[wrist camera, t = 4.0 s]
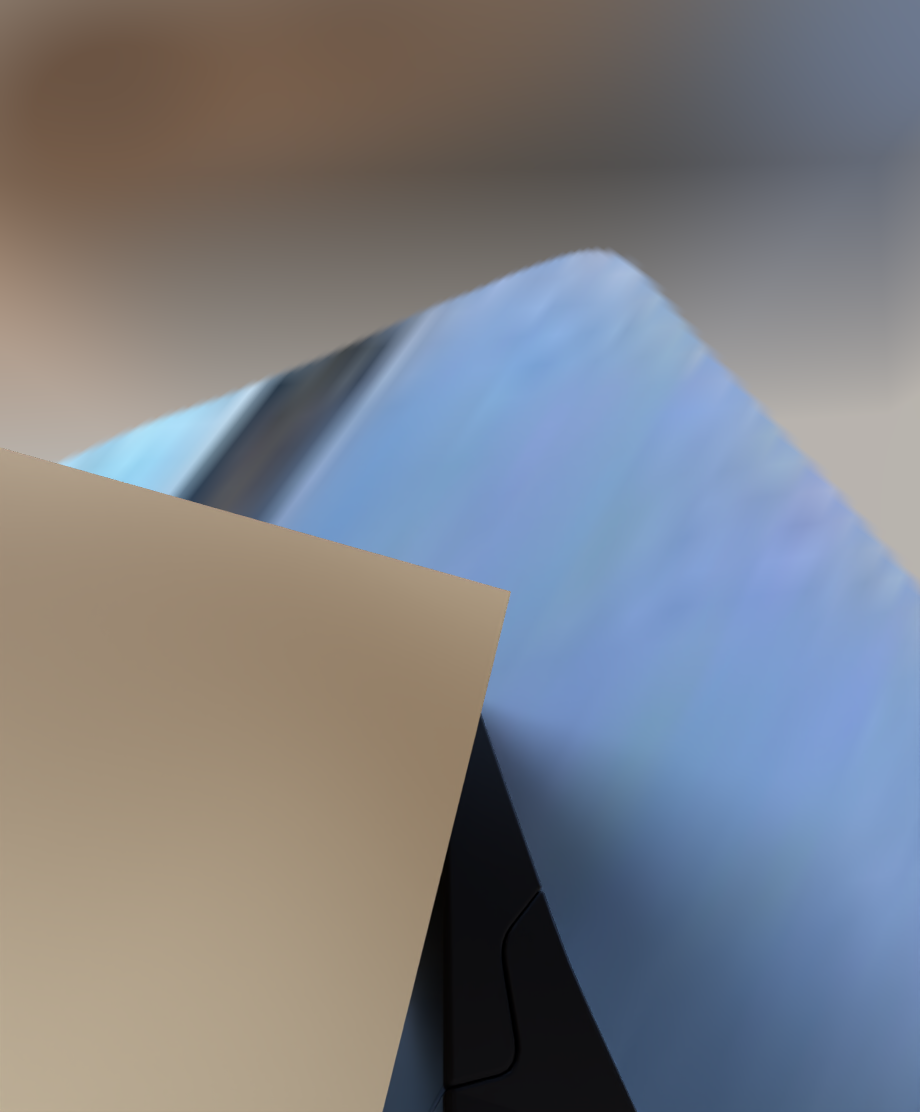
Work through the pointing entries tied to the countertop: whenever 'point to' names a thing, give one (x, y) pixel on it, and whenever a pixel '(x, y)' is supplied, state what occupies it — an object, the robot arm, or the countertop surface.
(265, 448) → the countertop surface
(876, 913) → the countertop surface
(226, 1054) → the beech pillar
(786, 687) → the countertop surface
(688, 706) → the countertop surface
